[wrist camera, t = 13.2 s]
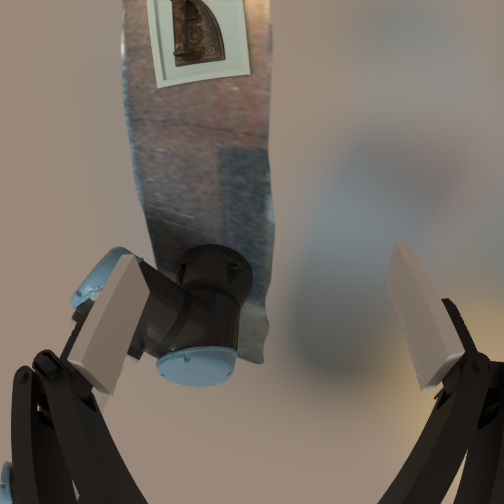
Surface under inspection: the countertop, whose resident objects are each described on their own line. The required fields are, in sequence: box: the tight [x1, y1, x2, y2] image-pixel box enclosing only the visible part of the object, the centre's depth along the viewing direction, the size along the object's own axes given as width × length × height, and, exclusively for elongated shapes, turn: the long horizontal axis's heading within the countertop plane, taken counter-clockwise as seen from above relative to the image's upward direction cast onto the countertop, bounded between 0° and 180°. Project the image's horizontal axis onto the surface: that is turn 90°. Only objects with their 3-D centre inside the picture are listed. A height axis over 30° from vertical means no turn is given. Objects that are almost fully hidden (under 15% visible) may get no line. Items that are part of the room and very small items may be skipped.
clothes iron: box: [170, 0, 225, 67], centre depth 26 cm, size 7×11×10 cm, turn 5°
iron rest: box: [147, 0, 251, 88], centre depth 29 cm, size 17×13×2 cm
